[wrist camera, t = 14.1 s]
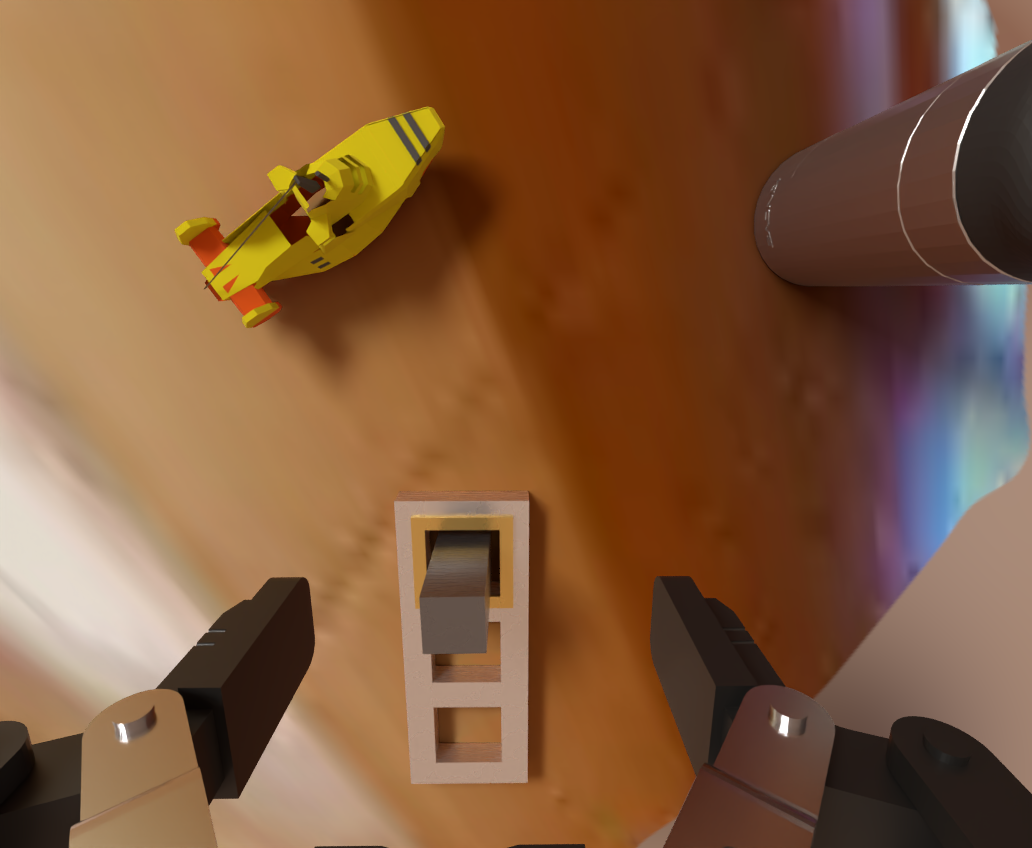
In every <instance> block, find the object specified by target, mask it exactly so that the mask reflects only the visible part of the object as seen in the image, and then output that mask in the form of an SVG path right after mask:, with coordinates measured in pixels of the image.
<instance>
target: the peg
mask: <svg viewBox="0 0 1032 848" xmlns="http://www.w3.org/2000/svg"><path fill="white" fill-rule="evenodd" d="M491 579H492V553H491V530H439V533H438V536H437V540H436V543H435V546H434V550H433V553H432V556H431V560H430V563H429V566H428V570H427V573H426V576H425V580H424V583H423V586H422V590H421V593H420V596H419V603H420V619H421V635H422V650H423V654H465V653H486V652H487V637H488V622H489V608H490V593H491Z"/></svg>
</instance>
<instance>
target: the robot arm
mask: <svg viewBox="0 0 1032 848" xmlns="http://www.w3.org/2000/svg"><path fill="white" fill-rule="evenodd" d="M754 234H755V239H756V243H757V247H758V249H759V252H760V254H761V256H762V258H763V260H764V261H765V262H766V264H767V265H768V266H769V268H770V269H771V270H772V271H773V272H775V273H776V274H777V275H778V276H779V277H781V278H782V279H785V280H787V281H789V282H791V283H793V284H798V285H802V286H937V285H997V284H1032V40H1030V41H1028V42H1026V43H1024V44H1022V45H1020V46H1018V47H1016V48H1014V49H1012V50H1009V51H1007V52H1006V53H1003V54H1001V55H999V56H997V57H995V58H993V59H991V60H989V61H987V62H984V63H983V64H981V65H979V66H977V67H975V68H973V69H971V70H969V71H967V72H964V73H962V74H960V75H958V76H956V77H954V78H952V79H950V80H948V81H946V82H944V83H942V84H939V85H937V86H935V87H933V88H931V89H929V90H927V91H925V92H923V93H921V94H919V95H917V96H914V97H912V98H910V99H908V100H906V101H904V102H902V103H900V104H898V105H896V106H894V107H892V108H889V109H887V110H885V111H883V112H881V113H879V114H877V115H875V116H873V117H871V118H869V119H867V120H864V121H862V122H860V123H858V124H856V125H854V126H852V127H850V128H848V129H846V130H844V131H842V132H839V133H837V134H835V135H833V136H831V137H829V138H827V139H825V140H823V141H820V142H818V143H816V144H814V145H812V146H810V147H808V148H806V149H804V150H802V151H800V152H798V153H796V154H794V155H793V156H792V157H790V158H789V159H787V160H786V161H785V162H783V163H782V164H781V165H780V166H779V167H778V168H777V169H776V170H775V172H774V173H773V174H772V175H771V176H770V178H769V180H768V181H767V183H766V184H765V186H764V187H763V189H762V192H761V194H760V197H759V199H758V202H757V206H756V211H755V216H754ZM650 643H651V653H652V659H653V663H654V666H655V669H656V671H657V674H658V677H659V679H660V682H661V684H662V687H663V690H664V692H665V695H666V698H667V700H668V703H669V706H670V708H671V711H672V713H673V716H674V719H675V721H676V724H677V727H678V729H679V732H680V735H681V737H682V740H683V742H684V745H685V748H686V750H687V753H688V756H689V758H690V761H691V764H692V766H693V769H694V771H695V774H696V779H695V781H694V783H693V785H692V787H691V789H690V791H689V794H688V796H687V798H686V800H685V802H684V804H683V806H682V808H681V810H680V813H679V815H678V817H677V819H676V821H675V823H674V825H673V827H672V829H671V832H670V834H669V836H668V838H667V840H666V842H665V845H664V846H663V848H1032V794H1031V793H1030V792H1029V791H1028V790H1027V789H1026V788H1025V787H1024V786H1023V785H1022V784H1021V782H1019V780H1018V779H1017V778H1015V776H1014V775H1013V774H1012V773H1011V772H1010V771H1009V770H1008V769H1007V768H1006V767H1005V766H1004V765H1003V764H1002V763H1001V762H1000V761H999V760H998V759H997V758H996V757H995V756H994V755H993V753H991V752H990V751H989V750H988V749H987V748H986V747H985V746H984V745H983V744H981V743H980V742H979V741H977V740H976V739H974V738H973V737H971V736H970V735H968V734H966V733H965V732H963V731H961V730H959V729H957V728H955V727H953V726H951V725H949V724H946V723H943V722H941V721H937V720H934V719H930V718H925V717H917V716H908V717H903V718H900V719H898V720H897V721H895V722H894V723H893V725H892V727H891V732H890V737H889V739H887V738H883V737H879V736H874V735H870V734H866V733H862V732H857V731H853V730H849V729H845V728H842V727H839V726H836V725H834V723H833V720H832V718H831V717H830V715H829V714H828V713H827V711H826V710H825V709H824V708H823V707H822V706H821V705H819V704H818V703H817V702H816V701H814V700H813V699H811V698H810V697H808V696H806V695H805V694H803V693H801V692H798V691H796V690H793V689H790V688H787V687H785V685H784V684H783V682H782V681H781V679H780V678H779V676H778V675H777V674H776V672H775V671H774V669H773V668H772V666H771V665H770V663H769V662H768V661H767V659H766V658H765V656H764V655H763V653H762V652H761V650H760V649H759V648H758V646H757V645H756V644H754V640H753V639H752V637H751V636H750V634H749V633H748V632H747V631H745V627H744V626H743V624H742V623H741V621H740V620H739V619H738V617H737V616H736V614H735V613H734V612H733V611H732V610H731V609H729V608H728V607H727V606H725V605H724V604H722V603H721V602H720V601H718V600H717V599H716V598H704V597H703V596H702V594H701V593H700V591H699V589H698V588H697V586H696V585H695V583H694V581H693V580H692V578H691V577H689V576H657V577H656V579H655V582H654V590H653V605H652V619H651V634H650ZM314 646H315V634H314V625H313V616H312V606H311V597H310V588H309V583H308V581H307V579H306V578H304V577H281V578H270V579H269V580H268V581H267V582H266V583H265V584H264V585H263V587H262V588H261V589H260V590H259V591H258V593H257V594H256V595H255V596H254V597H253V599H252V600H243V601H242V602H240V603H239V604H237V605H236V606H234V607H232V608H231V609H229V610H228V611H226V612H225V613H223V614H222V615H221V616H220V617H219V619H218V620H217V621H216V622H215V623H214V624H213V625H212V626H211V627H210V629H209V632H208V633H205V634H204V635H203V636H202V638H201V639H200V640H199V641H198V642H197V646H194V647H193V648H192V649H191V650H190V651H189V652H188V653H187V654H186V655H185V657H184V658H183V659H182V660H181V661H180V662H179V663H178V664H177V666H176V667H175V668H174V669H173V670H172V671H171V672H170V673H169V675H168V676H167V677H166V678H165V679H164V680H163V681H162V682H161V684H160V685H159V686H158V687H157V688H156V689H154V690H148V691H143V692H140V693H137V694H133V695H131V696H128V697H126V698H124V699H122V700H120V701H118V702H116V703H114V704H113V705H111V706H109V707H108V708H106V709H105V710H104V711H102V712H101V713H100V714H99V715H97V716H96V717H95V718H94V719H93V720H92V721H91V722H90V723H89V725H88V726H87V728H86V729H85V731H84V733H81V734H77V735H72V736H68V737H64V738H60V739H55V740H51V741H47V742H42V743H38V744H34V745H32V744H31V741H30V737H29V733H28V730H27V727H26V726H25V725H24V724H22V723H20V722H16V721H1V722H0V848H218V846H217V841H216V837H215V832H214V828H213V824H212V819H211V815H210V810H209V805H210V803H211V802H212V800H213V799H238V798H239V797H240V795H241V793H242V791H243V789H244V787H245V785H246V783H247V782H248V780H249V778H250V776H251V774H252V772H253V770H254V769H255V767H256V765H257V763H258V761H259V759H260V757H261V756H262V754H263V752H264V750H265V748H266V746H267V744H268V743H269V741H270V739H271V737H272V735H273V733H274V731H275V730H276V728H277V726H278V724H279V722H280V720H281V718H282V717H283V715H284V713H285V711H286V709H287V707H288V705H289V703H290V702H291V700H292V698H293V696H294V694H295V692H296V690H297V689H298V687H299V685H300V683H301V681H302V679H303V677H304V676H305V674H306V672H307V670H308V668H309V666H310V664H311V661H312V657H313V653H314ZM315 848H387V847H383V846H323V847H315ZM509 848H585V844H550V845H516V846H512V847H509Z"/></svg>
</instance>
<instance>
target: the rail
mask: <svg viewBox="0 0 1032 848" xmlns="http://www.w3.org/2000/svg"><path fill="white" fill-rule="evenodd" d="M394 506H395V522H396V539H397V555H398V572H399V588H400V605H401V621H402V638H403V654H404V671H405V687H406V704H407V721H408V737H409V754H410V770H411V784H443V783H528V615H529V493H528V491H400V492H399V494H398V495H397V497H396V499H395V501H394ZM430 530H500V581H491V593H490V608H489V622H501V665H486V666H436V662H435V654H423V650H422V635H421V619H420V603H419V596H420V593H421V590H422V586H423V583H424V580H425V576H426V573H427V570H428V566H429V563H430V560H431V547H430ZM438 707H501V724H502V743H439V730H438Z"/></svg>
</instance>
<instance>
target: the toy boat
mask: <svg viewBox="0 0 1032 848" xmlns="http://www.w3.org/2000/svg"><path fill="white" fill-rule="evenodd" d="M444 131H445V126H444V124H443V123H442V121H441V119H440V118H439V116H438V115H437V113H436V111H435V110H434V108H431V107H424V108H421V109H417V110H414V111H410V112H405V113H402V114H400V115H397V116H392V117H388V118H386V119H383V120H379V121H376V122H373V123H369V124H366V125H365V126H364V127H362V128H361V129H359V130H358V131H357V132H355V133H354V134H352V135H351V136H350V137H348V138H347V139H346V140H344V141H343V142H341V143H340V144H339V145H337V146H336V147H334V148H333V149H332V150H330V151H329V152H328V153H326V154H325V155H323V156H322V157H321V158H319V159H318V160H317V161H315V162H314V163H311V164H306V165H304V166H303V167H302V168H301V169H300V170H297V171H293V170H290V169H288V168H286V167H284V166H280V165H278V166H277V167H276V168H275V169H273V170H272V171H271V172H269V173H268V174H267V175H268V177H269V178H270V180H271V182H272V183H273V185H274V187H275V189H276V190H277V191H279V192H280V193H278V194H277V195H276V196H275V197H274V198H272V199H271V200H270V201H269V202H268V203H266V204H265V205H264V206H263V207H262V208H260V209H259V210H258V211H257V212H256V213H254V214H253V215H252V216H251V217H250V218H248V219H247V220H246V221H245V222H244V223H242V224H241V225H240V226H239V227H238V228H236V229H235V230H234V231H233V232H232V233H230V234H229V235H228V236H227V237H226V238H224V237H223V236H222V234H221V233H220V232H219V231H218V230H219V227H220V223H219V222H218V221H217V219H214V218H207V217H202V218H197V219H192V220H188V221H185V222H184V223H183V224H181V225H180V226H179V227H177V228H176V229H175V233H176V236H177V239H178V240H179V241H180V242H181V244H183V245H188V246H190V247H191V248H192V249H193V251H194V252H195V253H196V255H197V256H198V257H199V259H200V260H201V261H202V263H203V264H204V265H205V267H206V268H205V269H204V270H203V271H202V272H201V273H202V274H203V275H204V276H205V278H206V279H207V280H206V282H205V284H206V285H207V286H206V287H205V288H204V289H206V288H207V287H208V288H209V289H210V290H211V292H212V293H213V294H214V295H215V297H216V298H217V299H218V301H226V300H232V302H233V303H234V304H235V305H236V307H237V308H238V309H239V310H240V312H241V313H242V314H243V315H244V316H243V317H242V322H243V324H244V325H245V327H246V328H252V327H256V326H258V325H260V324H262V323H263V322H265V321H267V320H268V319H270V318H271V317H272V316H274V315H275V314H277V313H278V312H279V311H280V310H281V308H282V306H281V305H280V303H279V302H273V303H272V301H271V300H270V299H269V297H268V296H267V294H266V293H265V291H264V290H263V288H262V287H263V286H264V285H266V284H267V283H269V282H270V281H275V280H280V279H286V278H291V277H297V276H302V275H308V274H313V273H319V272H324V271H326V270H328V269H330V268H332V267H334V266H336V265H338V264H340V263H342V262H344V261H346V260H348V259H350V258H352V257H354V256H356V255H357V254H358V253H359V252H360V251H362V250H363V249H364V248H365V247H366V246H367V245H368V244H370V243H371V242H372V241H373V240H374V239H375V238H376V237H378V236H379V235H380V234H381V233H382V232H383V231H384V229H385V228H386V227H387V225H388V224H389V222H390V221H391V219H392V218H393V216H394V215H395V214H396V212H397V211H398V209H399V208H400V206H401V205H402V203H403V202H404V200H405V199H406V198H408V197H412V195H413V194H414V192H415V191H416V189H417V188H418V186H419V185H420V183H421V177H422V176H423V174H424V173H425V171H426V170H427V168H428V166H429V165H430V163H431V162H432V159H433V158H434V157H435V155H436V154H437V153H438V152H439V150H440V149H441V148H442V143H443V138H444ZM404 181H405V182H404ZM324 187H326V192H325V194H324V196H323V198H327V199H331V200H334V201H330V202H328V203H327V204H325V205H323V206H321V207H318V208H315V209H312V210H311V211H310V212H309V213H308V212H307V210H306V209H307V208H308V206H309V204H308V203H307V201H308V200H309V199H310V198H311V197H312V196H313V195H314V194H315V193H316V192H318V191H320V190H321V189H323V188H324ZM301 206H302V207H303V209H304V210H305V212H306V213H307V215H308V216H309V217H310V219H311V220H310V219H309V217H308V216H291V215H292V214H293V213H295V212H296V211H297V210H298V209H299V208H300V207H301ZM347 214H349V215H350V216H351V218H352V219H353V221H354V222H355V223H353V224H352V225H351V226H349V227H348V228H347V229H346V231H347V232H346V233H345V234H344V235H342V236H339V237H336V236H335V234H334V233H333V232H332V225H333V224H334V223H336V222H337V221H339V220H340V219H341V218H343V217H344V216H345V215H347Z"/></svg>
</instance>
